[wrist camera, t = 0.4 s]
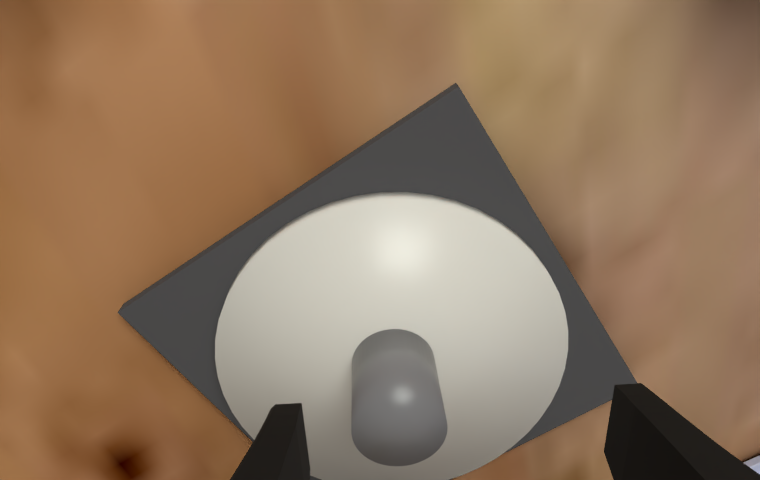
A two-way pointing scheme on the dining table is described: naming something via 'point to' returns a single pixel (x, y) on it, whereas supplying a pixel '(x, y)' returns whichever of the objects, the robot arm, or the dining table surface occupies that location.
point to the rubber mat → (374, 175)
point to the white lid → (394, 336)
